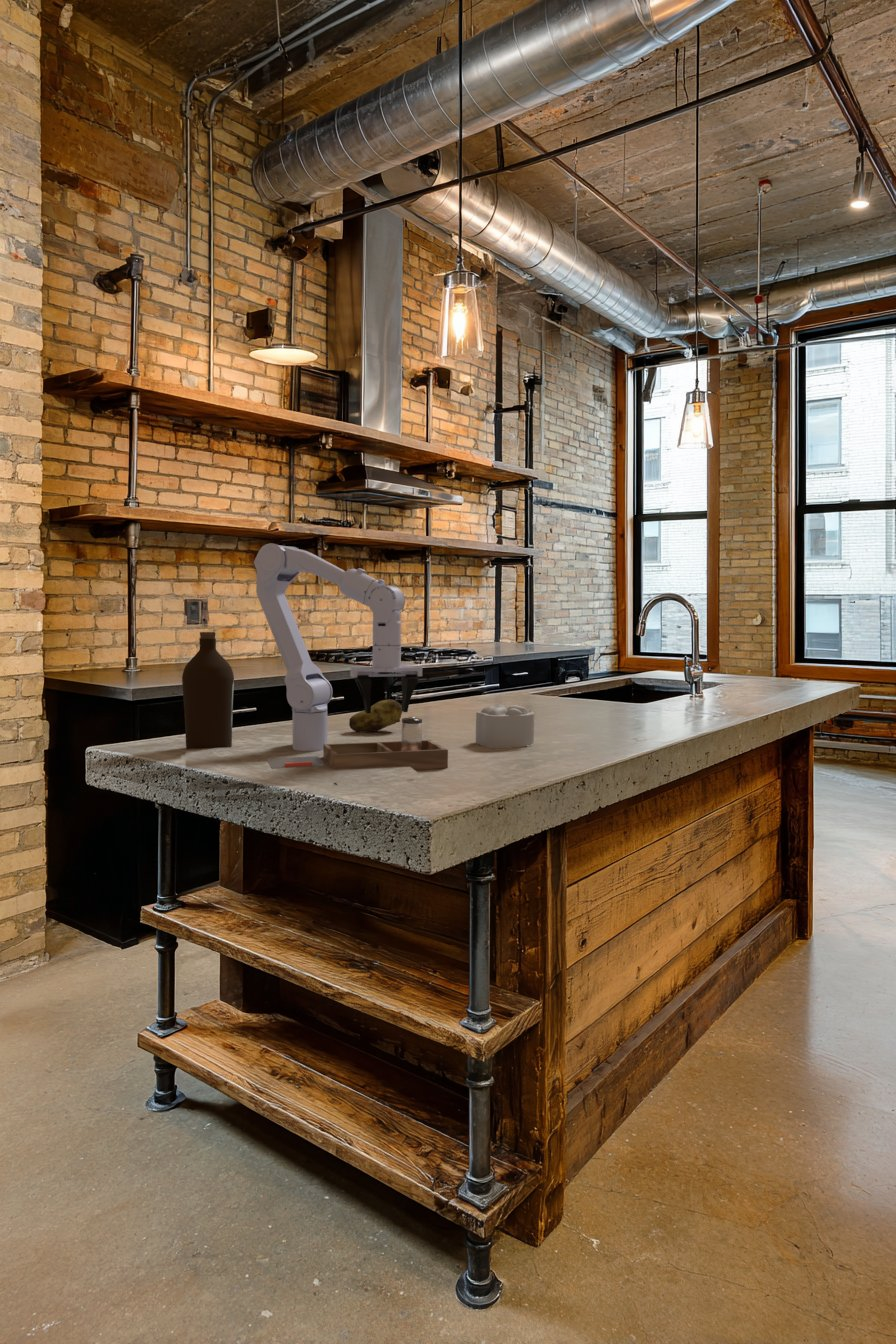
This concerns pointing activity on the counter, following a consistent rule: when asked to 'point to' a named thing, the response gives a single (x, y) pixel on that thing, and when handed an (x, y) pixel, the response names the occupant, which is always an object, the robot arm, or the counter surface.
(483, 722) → the lumpy-topped squat cylinder
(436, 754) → the sorting tray
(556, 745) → the counter surface
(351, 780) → the counter surface
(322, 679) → the robot arm
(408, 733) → the cell
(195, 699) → the olive oil
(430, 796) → the counter surface
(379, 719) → the potato
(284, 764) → the grey square base plate
